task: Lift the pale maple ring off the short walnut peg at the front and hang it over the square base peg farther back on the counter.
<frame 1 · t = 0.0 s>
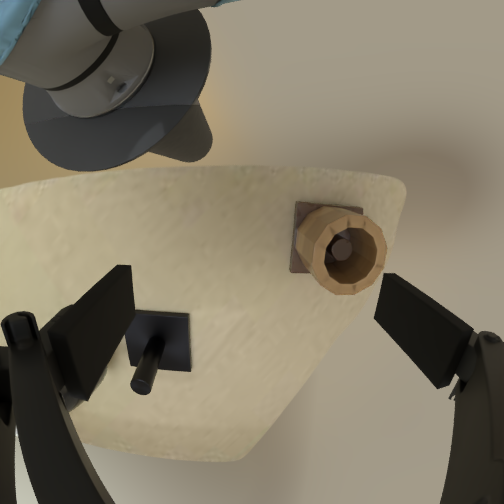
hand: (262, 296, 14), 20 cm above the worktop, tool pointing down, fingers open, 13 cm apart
maple ring: (328, 240, 33), point 1 cm above the worktop, touching low peg stand
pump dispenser: (86, 341, 35), on the worktop
low peg stand: (325, 238, 34), on the worktop
square base peg: (157, 340, 36), on the worktop
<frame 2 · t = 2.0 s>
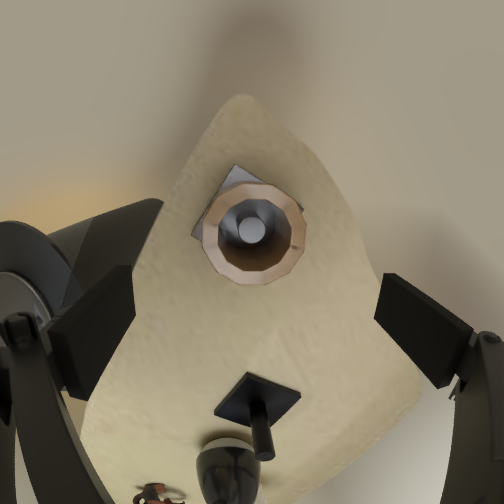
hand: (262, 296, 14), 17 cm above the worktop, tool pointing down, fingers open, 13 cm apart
maple ring: (247, 221, 28), point 1 cm above the worktop, touching low peg stand
foam cup: (244, 482, 43), on the worktop
pottery mug: (159, 490, 43), on the worktop
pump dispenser: (227, 445, 39), on the worktop
low peg stand: (247, 220, 29), on the worktop
square base peg: (256, 402, 36), on the worktop
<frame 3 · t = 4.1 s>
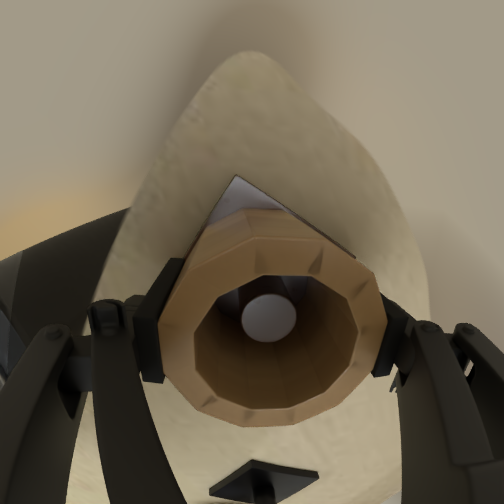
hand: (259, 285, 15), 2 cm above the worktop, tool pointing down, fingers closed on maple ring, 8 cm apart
maple ring: (258, 280, 16), point 1 cm above the worktop, touching gripper, low peg stand
low peg stand: (256, 274, 17), on the worktop
square base peg: (262, 483, 24), on the worktop
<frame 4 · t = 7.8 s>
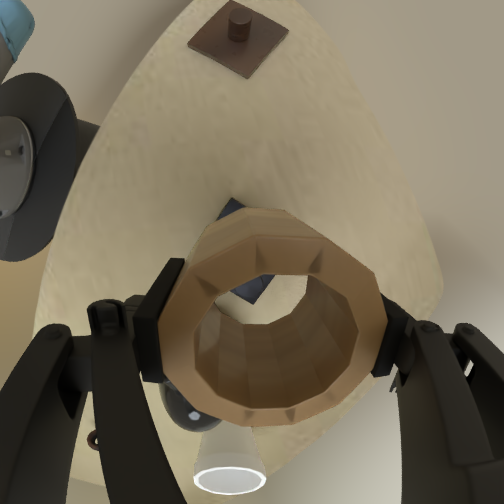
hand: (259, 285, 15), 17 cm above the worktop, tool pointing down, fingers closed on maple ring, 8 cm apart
maple ring: (258, 280, 16), point 17 cm above the worktop, touching gripper
foam cup: (227, 415, 40), on the worktop
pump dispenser: (203, 334, 35), on the worktop
low peg stand: (238, 37, 26), on the worktop
square base peg: (242, 252, 32), on the worktop
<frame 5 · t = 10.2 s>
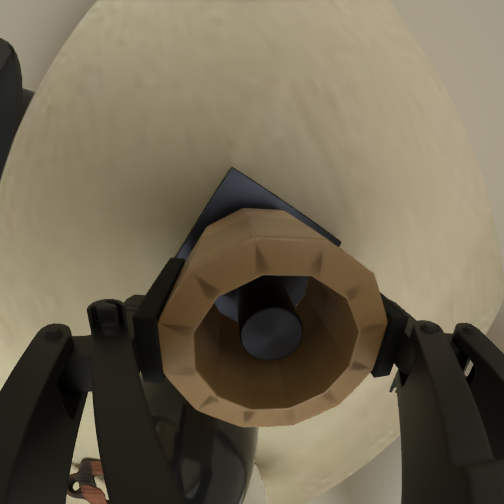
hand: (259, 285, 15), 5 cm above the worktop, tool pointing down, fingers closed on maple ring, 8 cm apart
maple ring: (258, 280, 16), point 4 cm above the worktop, touching gripper
foam cup: (231, 468, 27), on the worktop
pottery mug: (103, 473, 27), on the worktop
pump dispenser: (194, 380, 22), on the worktop
square base peg: (251, 258, 20), on the worktop
when the fingers open (2 cm above the worktop, at t = 11.6 s): maple ring stays where it is, resting on square base peg.
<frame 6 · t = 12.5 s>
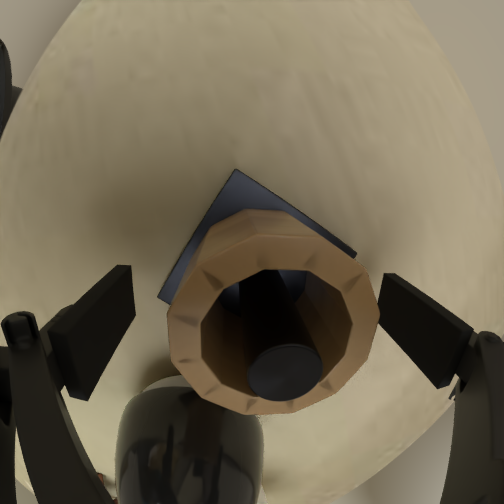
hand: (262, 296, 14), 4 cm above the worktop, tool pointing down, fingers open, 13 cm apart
maple ring: (259, 277, 17), point 1 cm above the worktop, touching square base peg
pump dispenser: (194, 399, 20), on the worktop
square base peg: (256, 271, 18), on the worktop
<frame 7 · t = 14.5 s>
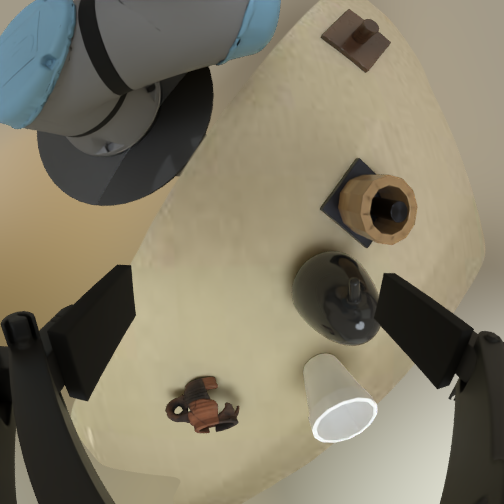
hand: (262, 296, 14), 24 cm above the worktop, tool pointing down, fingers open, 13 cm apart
maple ring: (364, 204, 36), point 1 cm above the worktop, touching square base peg
foam cup: (320, 367, 44), on the worktop
pottery mug: (203, 395, 44), on the worktop
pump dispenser: (320, 278, 40), on the worktop
low peg stand: (356, 40, 31), on the worktop
square base peg: (361, 203, 37), on the worktop
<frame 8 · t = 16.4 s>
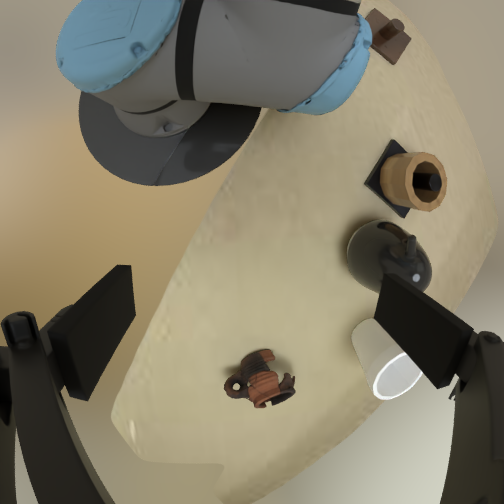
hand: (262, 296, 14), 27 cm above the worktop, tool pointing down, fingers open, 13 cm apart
maple ring: (400, 179, 39), point 1 cm above the worktop, touching square base peg
foam cup: (366, 333, 47), on the worktop
pottery mug: (258, 370, 47), on the worktop
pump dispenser: (366, 246, 42), on the worktop
low peg stand: (382, 36, 33), on the worktop
square base peg: (397, 178, 39), on the worktop
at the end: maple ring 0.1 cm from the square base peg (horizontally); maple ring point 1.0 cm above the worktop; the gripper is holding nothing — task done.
